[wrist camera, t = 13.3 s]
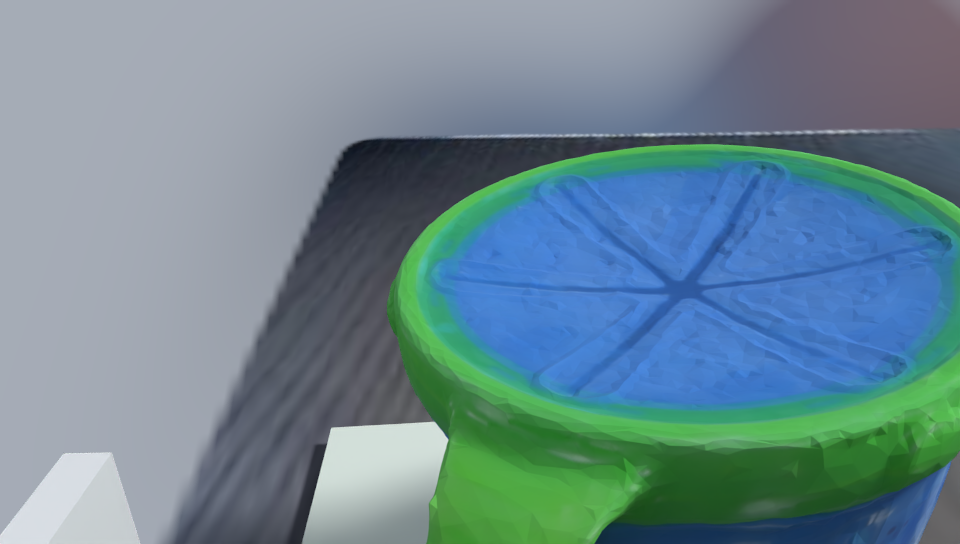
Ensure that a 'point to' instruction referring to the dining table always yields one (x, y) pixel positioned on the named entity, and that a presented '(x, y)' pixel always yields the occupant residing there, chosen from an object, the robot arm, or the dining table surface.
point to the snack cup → (687, 351)
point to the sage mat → (376, 485)
